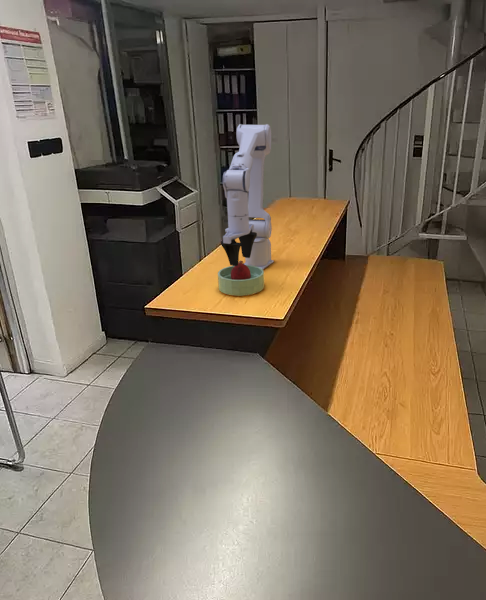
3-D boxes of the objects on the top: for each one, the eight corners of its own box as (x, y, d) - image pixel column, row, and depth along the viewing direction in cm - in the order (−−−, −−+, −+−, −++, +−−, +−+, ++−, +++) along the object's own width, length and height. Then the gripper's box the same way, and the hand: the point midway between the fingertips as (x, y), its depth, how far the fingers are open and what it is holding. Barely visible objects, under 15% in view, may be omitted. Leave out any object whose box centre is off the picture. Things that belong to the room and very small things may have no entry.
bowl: (225, 279, 148) (224, 264, 147) (267, 281, 147) (267, 265, 145) (213, 295, 136) (212, 279, 134) (259, 298, 135) (258, 281, 133)
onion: (248, 291, 138) (247, 264, 135) (228, 289, 139) (227, 263, 136) (253, 284, 143) (252, 258, 140) (234, 282, 145) (233, 257, 141)
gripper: (237, 207, 141) (239, 252, 146) (211, 219, 128) (215, 267, 134) (259, 209, 138) (261, 255, 144) (235, 221, 126) (237, 270, 131)
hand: (240, 261), depth 138 cm, fingers open, 7 cm apart
